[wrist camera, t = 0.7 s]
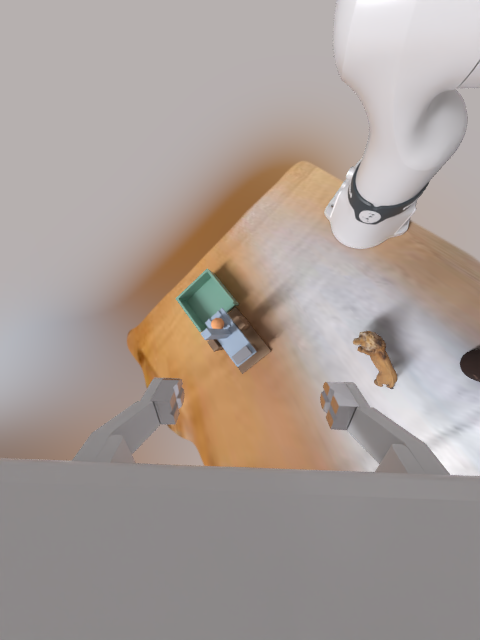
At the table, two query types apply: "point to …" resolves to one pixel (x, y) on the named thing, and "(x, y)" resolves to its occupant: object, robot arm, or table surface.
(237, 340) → the lever
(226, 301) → the tray
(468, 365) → the coffee mug
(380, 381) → the lion figurine
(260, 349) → the stand
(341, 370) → the table surface
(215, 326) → the ball
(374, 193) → the robot arm
